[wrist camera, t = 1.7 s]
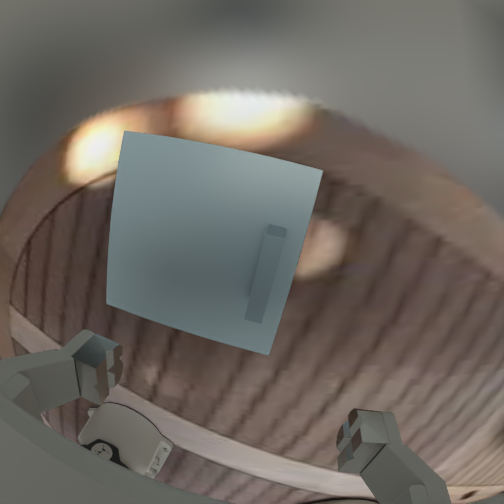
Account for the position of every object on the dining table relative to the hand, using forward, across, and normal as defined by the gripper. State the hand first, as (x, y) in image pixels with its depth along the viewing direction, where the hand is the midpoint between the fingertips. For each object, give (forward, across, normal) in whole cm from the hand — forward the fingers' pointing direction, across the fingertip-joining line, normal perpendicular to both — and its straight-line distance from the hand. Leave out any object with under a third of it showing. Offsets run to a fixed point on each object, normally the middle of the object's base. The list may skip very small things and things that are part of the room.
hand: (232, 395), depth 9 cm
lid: (+14, -6, 0) cm, 15 cm away
